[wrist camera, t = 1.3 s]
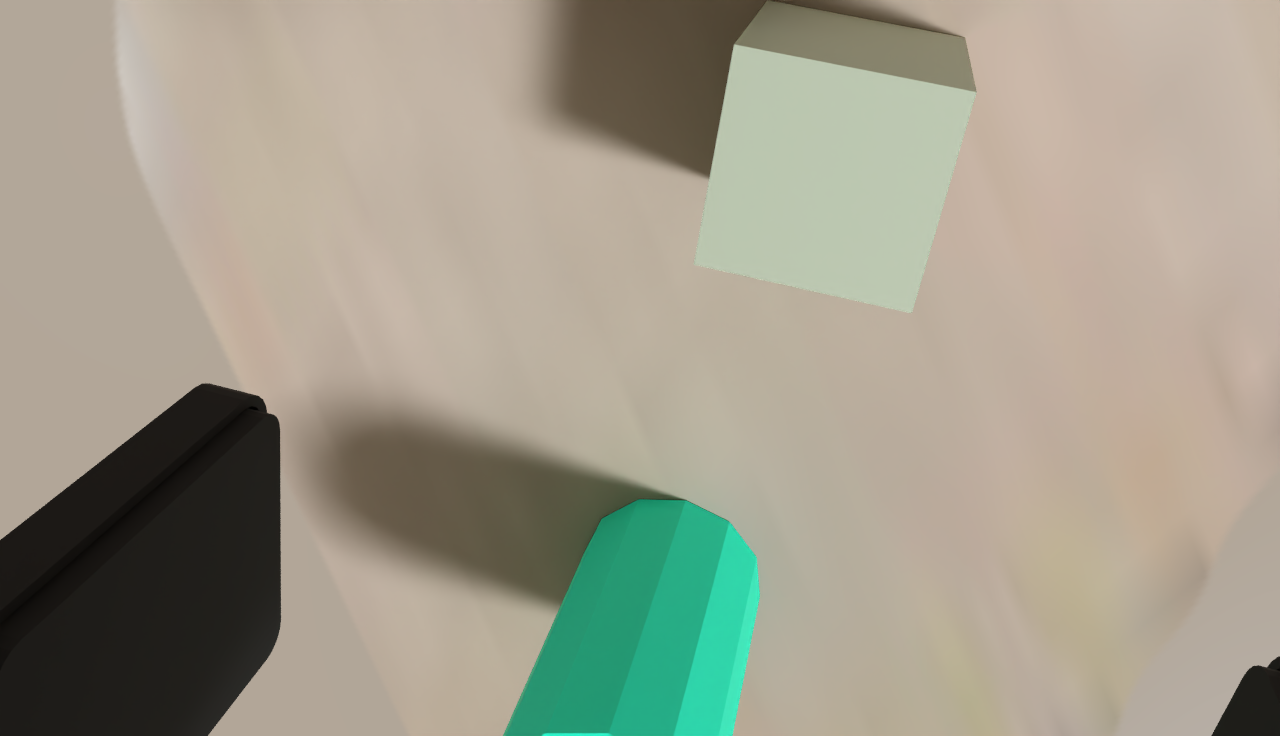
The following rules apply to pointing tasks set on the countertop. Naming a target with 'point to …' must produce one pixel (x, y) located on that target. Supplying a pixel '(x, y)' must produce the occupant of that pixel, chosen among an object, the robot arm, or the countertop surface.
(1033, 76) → the countertop surface
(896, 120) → the sage block
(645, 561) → the candle
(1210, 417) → the countertop surface
